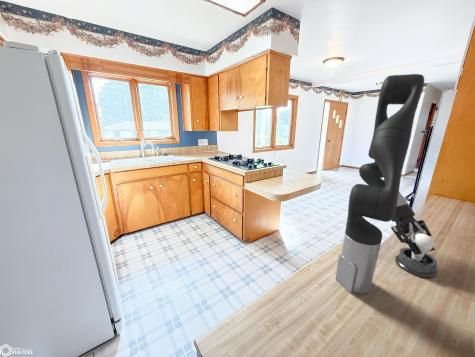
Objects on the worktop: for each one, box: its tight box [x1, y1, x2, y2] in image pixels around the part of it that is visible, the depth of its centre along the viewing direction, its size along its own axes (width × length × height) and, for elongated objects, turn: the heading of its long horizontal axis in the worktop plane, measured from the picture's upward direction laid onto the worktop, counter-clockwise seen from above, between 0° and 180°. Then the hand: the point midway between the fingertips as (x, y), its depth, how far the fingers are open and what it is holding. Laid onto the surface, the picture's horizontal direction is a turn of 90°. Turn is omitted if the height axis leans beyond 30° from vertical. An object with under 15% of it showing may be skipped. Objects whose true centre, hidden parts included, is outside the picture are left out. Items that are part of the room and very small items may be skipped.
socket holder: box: [394, 247, 438, 280], centre depth 67 cm, size 11×11×4 cm
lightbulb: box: [412, 233, 435, 262], centre depth 66 cm, size 6×6×11 cm
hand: (425, 252), depth 65 cm, fingers closed on lightbulb, 6 cm apart
